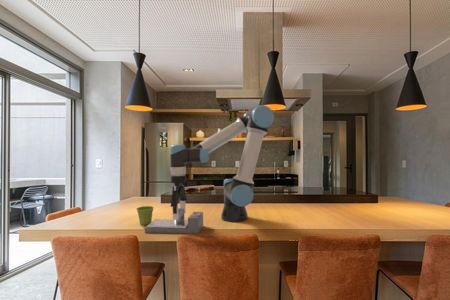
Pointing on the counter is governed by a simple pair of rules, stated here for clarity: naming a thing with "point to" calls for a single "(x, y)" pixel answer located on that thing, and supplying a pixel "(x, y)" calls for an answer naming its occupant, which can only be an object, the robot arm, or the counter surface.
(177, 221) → the spacer
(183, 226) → the pan
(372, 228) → the counter surface
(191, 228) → the scale
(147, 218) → the plant pot
